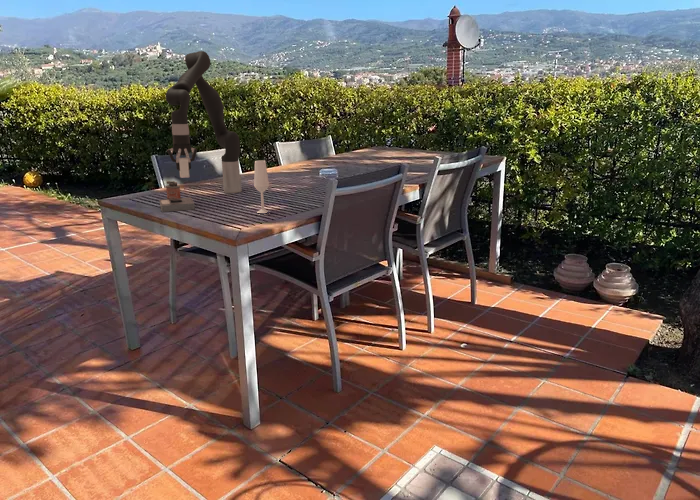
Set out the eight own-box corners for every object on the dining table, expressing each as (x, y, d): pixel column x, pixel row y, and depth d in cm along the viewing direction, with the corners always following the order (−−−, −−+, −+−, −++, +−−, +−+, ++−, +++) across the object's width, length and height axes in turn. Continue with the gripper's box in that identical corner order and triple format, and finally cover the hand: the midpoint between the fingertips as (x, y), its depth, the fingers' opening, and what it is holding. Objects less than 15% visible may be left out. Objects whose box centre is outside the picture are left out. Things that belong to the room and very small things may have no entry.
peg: (188, 176, 247) (186, 157, 245) (189, 177, 244) (187, 158, 241) (179, 176, 246) (178, 157, 243) (180, 177, 242) (179, 158, 240)
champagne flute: (272, 211, 239) (269, 160, 231) (267, 214, 232) (264, 162, 225) (259, 210, 240) (256, 159, 233) (253, 214, 234) (250, 161, 227)
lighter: (182, 200, 264) (180, 181, 261) (178, 201, 261) (176, 182, 258) (169, 199, 266) (167, 180, 263) (165, 200, 263) (163, 181, 260)
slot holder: (191, 203, 257) (190, 196, 256) (194, 209, 244) (194, 202, 243) (160, 205, 251) (159, 199, 250) (161, 212, 238) (161, 205, 237)
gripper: (195, 133, 245) (198, 168, 250) (164, 133, 240) (167, 170, 244) (197, 134, 238) (200, 170, 243) (165, 134, 233) (169, 172, 238)
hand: (183, 170), depth 244 cm, fingers closed on peg, 4 cm apart
